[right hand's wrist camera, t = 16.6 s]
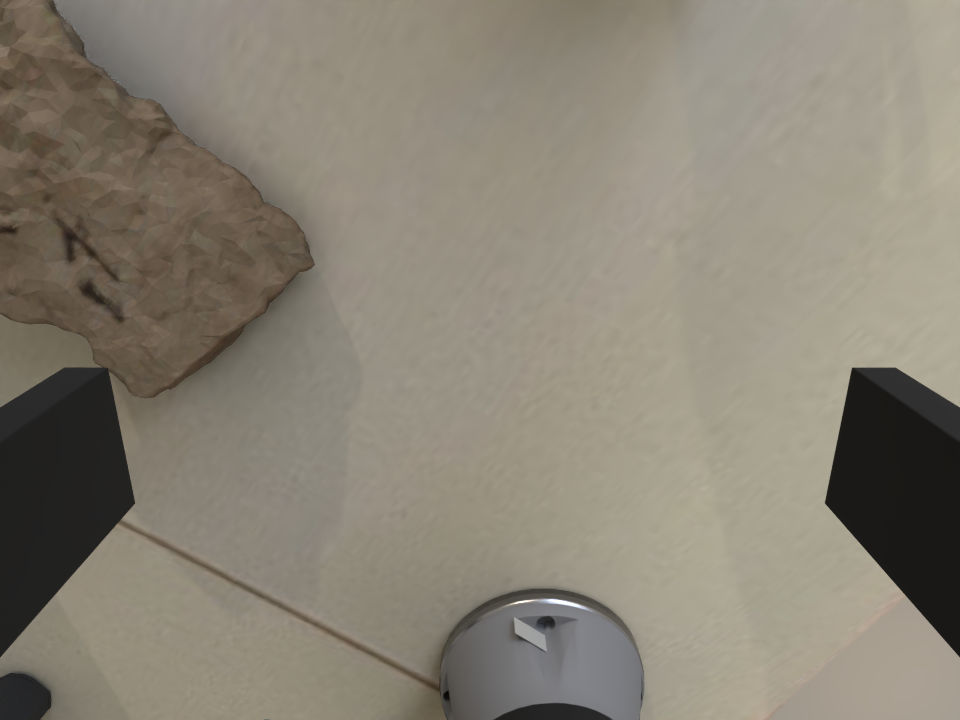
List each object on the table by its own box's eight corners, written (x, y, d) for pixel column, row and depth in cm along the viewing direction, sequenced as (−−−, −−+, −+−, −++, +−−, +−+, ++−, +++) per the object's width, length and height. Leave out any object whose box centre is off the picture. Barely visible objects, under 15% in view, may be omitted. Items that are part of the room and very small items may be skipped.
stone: (-167, 160, 36) (-245, 165, 31) (25, -42, 36) (-20, -74, 31) (167, 401, 45) (153, 439, 39) (324, 240, 45) (332, 254, 39)
